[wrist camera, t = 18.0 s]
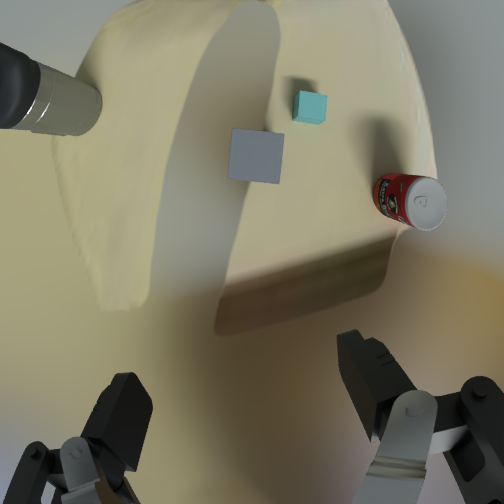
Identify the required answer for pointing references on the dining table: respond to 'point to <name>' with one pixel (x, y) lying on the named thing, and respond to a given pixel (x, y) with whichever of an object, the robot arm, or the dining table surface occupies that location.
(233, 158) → the tall grey pillar block
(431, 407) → the robot arm
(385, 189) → the canned food
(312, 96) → the teal block
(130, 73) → the dining table surface
